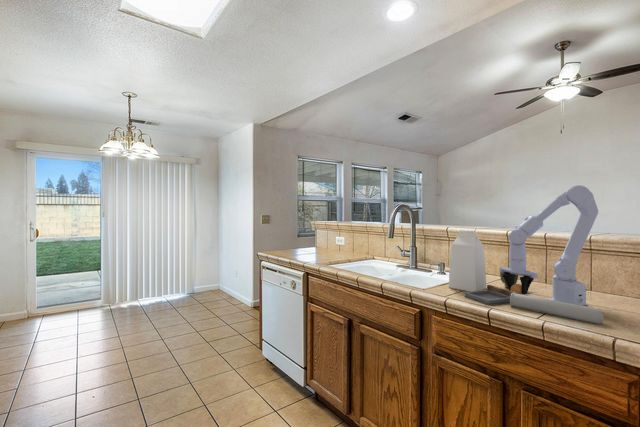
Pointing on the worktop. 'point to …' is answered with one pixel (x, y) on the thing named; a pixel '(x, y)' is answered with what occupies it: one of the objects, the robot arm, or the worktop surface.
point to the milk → (467, 263)
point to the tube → (557, 308)
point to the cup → (505, 281)
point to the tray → (488, 297)
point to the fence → (501, 290)
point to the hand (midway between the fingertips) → (517, 292)
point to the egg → (516, 288)
